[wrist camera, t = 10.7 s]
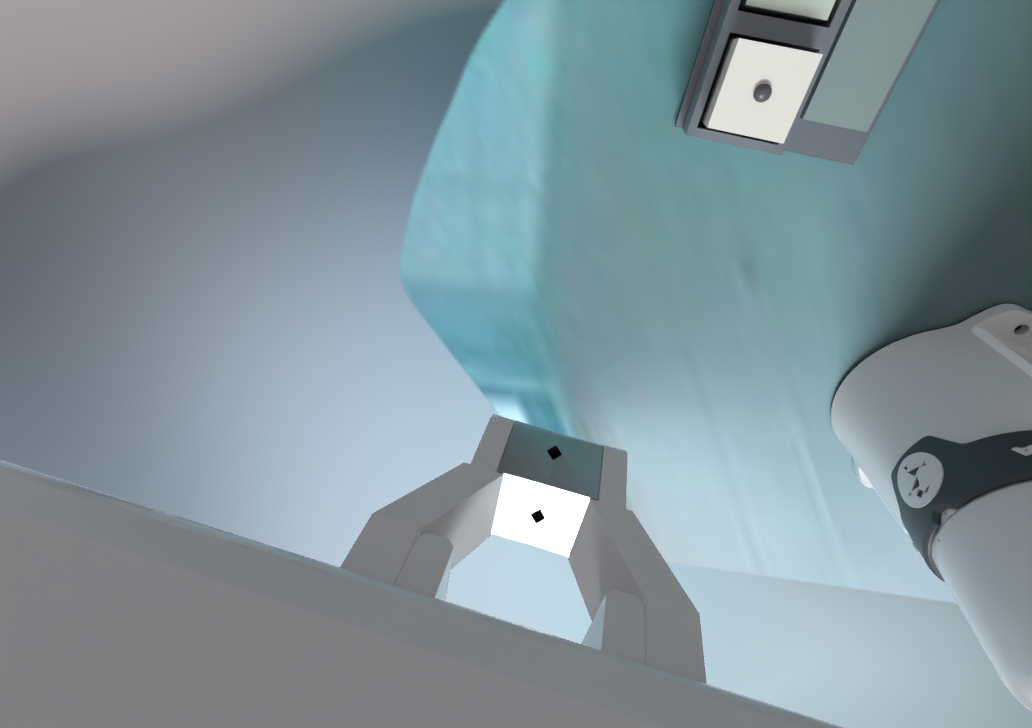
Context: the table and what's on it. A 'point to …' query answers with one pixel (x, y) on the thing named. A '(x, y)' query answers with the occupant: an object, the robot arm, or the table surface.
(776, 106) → the tile one
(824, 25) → the console
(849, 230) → the table surface
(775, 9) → the tile two
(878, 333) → the table surface
